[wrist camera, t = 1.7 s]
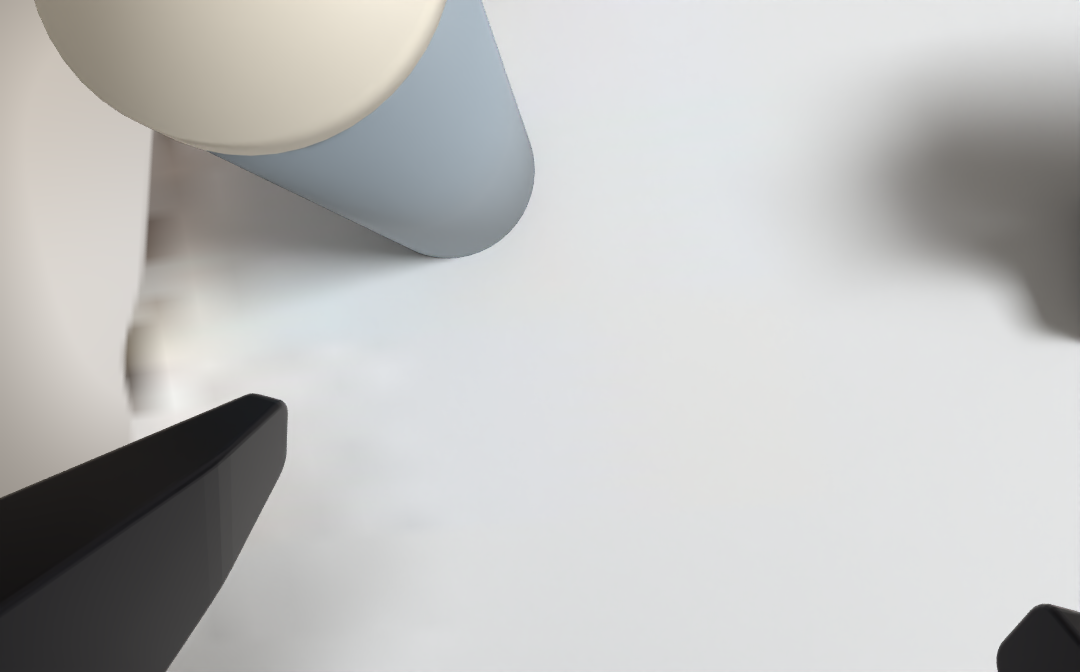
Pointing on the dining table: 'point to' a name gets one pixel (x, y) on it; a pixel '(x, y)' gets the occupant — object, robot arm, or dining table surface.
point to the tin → (324, 102)
